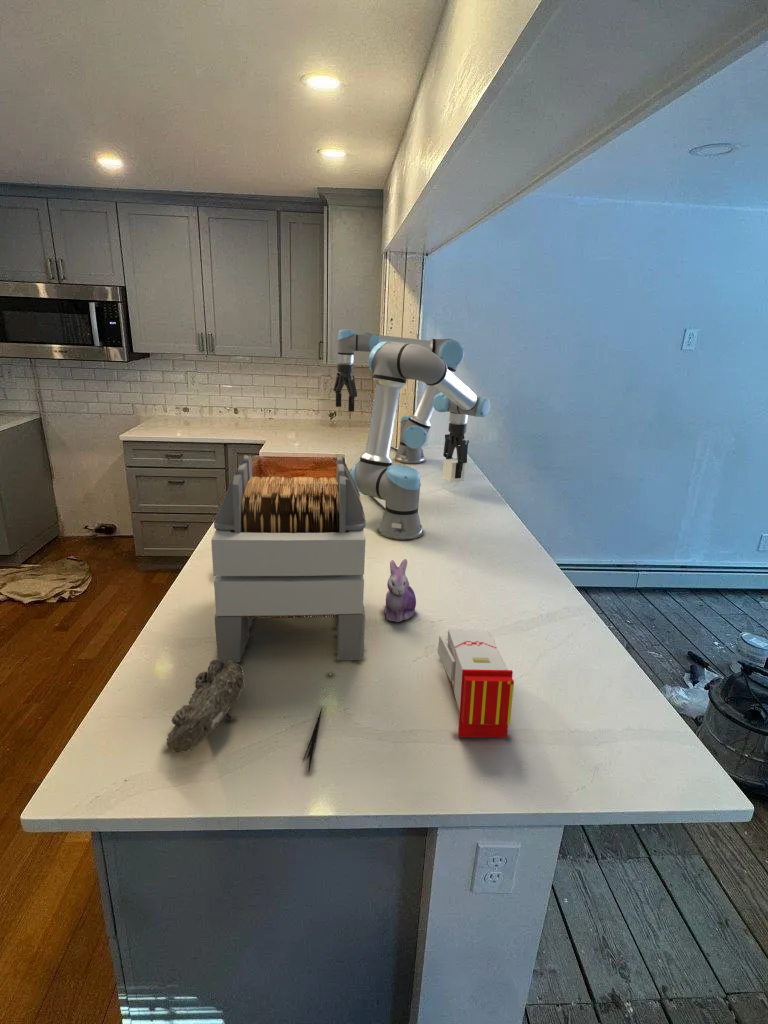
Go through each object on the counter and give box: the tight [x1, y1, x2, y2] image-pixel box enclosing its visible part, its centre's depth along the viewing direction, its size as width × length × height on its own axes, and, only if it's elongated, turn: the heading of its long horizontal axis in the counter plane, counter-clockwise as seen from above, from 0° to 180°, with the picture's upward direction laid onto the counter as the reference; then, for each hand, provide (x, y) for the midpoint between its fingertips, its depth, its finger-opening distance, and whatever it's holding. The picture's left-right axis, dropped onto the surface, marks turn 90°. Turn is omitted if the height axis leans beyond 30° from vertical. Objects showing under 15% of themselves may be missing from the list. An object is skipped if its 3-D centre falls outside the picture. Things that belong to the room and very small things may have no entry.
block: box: [441, 457, 466, 484], centre depth 245 cm, size 7×6×9 cm
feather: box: [301, 673, 332, 771], centre depth 108 cm, size 2×28×2 cm
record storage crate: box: [210, 454, 366, 663], centre depth 134 cm, size 34×33×41 cm
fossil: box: [166, 659, 245, 754], centre depth 106 cm, size 22×10×15 cm
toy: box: [437, 628, 515, 738], centre depth 117 cm, size 12×13×30 cm
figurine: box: [384, 558, 417, 623], centre depth 145 cm, size 9×10×15 cm
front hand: (453, 475), depth 245 cm, fingers closed on block, 6 cm apart
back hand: (344, 409), depth 274 cm, fingers open, 13 cm apart
